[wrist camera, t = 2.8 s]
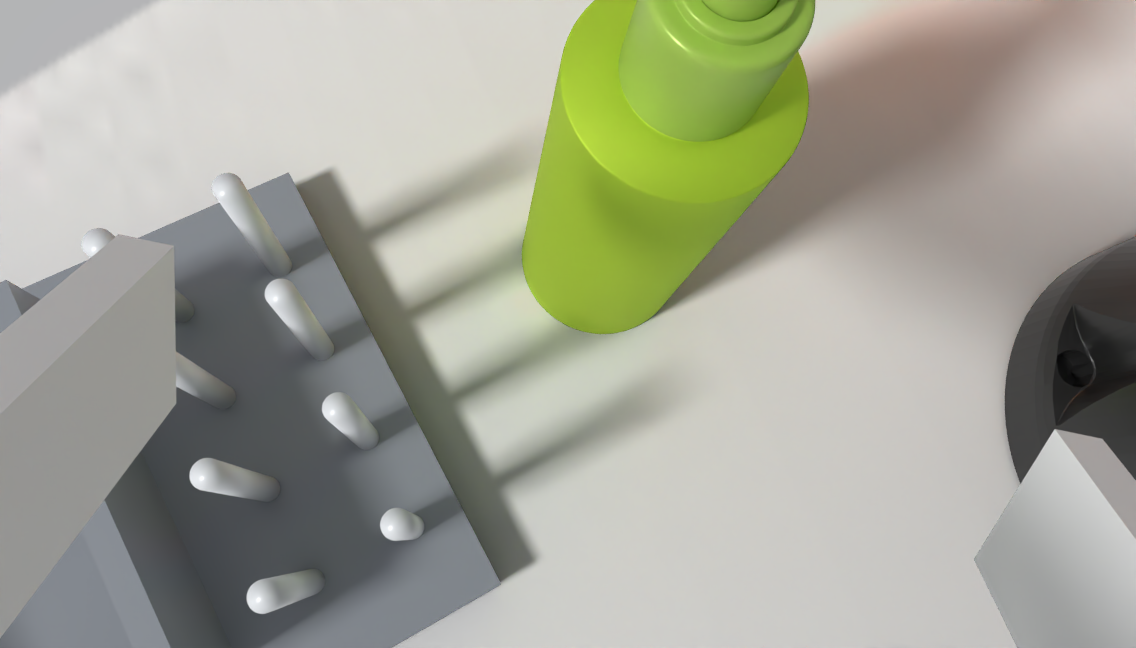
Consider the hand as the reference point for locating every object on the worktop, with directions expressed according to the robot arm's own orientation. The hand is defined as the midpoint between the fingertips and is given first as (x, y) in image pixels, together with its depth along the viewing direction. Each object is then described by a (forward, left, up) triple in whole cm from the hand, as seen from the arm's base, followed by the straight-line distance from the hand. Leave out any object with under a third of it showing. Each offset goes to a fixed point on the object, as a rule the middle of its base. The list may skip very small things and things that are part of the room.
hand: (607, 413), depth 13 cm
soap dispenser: (-7, -7, -18) cm, 20 cm away
